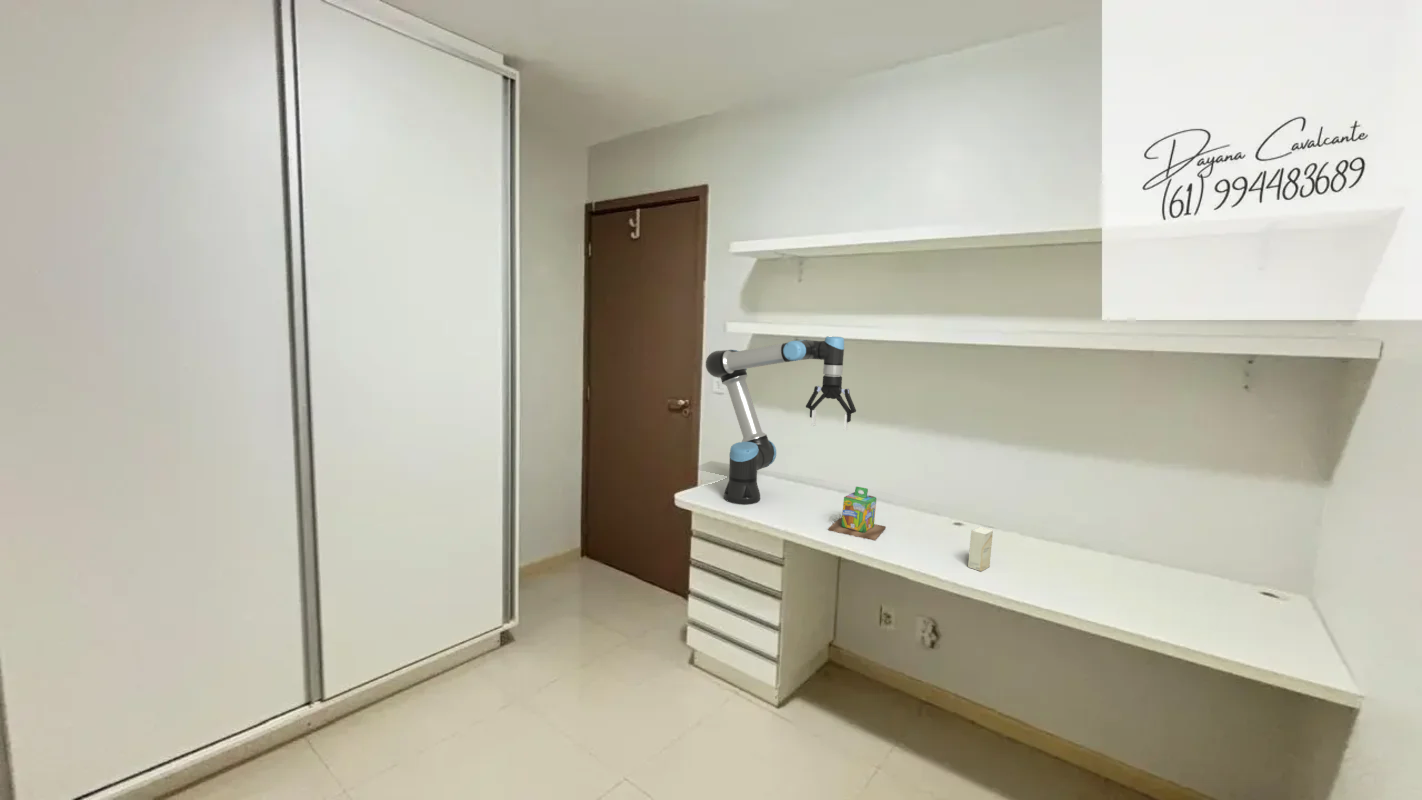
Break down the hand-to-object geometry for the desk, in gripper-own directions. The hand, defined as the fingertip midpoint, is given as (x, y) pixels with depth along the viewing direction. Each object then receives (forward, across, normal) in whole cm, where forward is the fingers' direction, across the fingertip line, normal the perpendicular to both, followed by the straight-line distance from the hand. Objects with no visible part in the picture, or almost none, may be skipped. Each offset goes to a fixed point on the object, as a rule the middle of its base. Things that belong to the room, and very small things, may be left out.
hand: (829, 427), depth 237 cm
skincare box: (+33, -62, +30) cm, 76 cm away
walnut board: (+33, -20, +20) cm, 43 cm away
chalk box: (+32, -20, +20) cm, 42 cm away
